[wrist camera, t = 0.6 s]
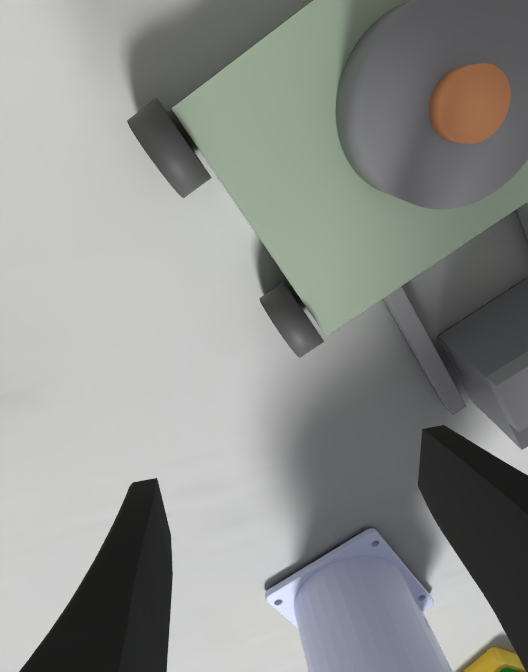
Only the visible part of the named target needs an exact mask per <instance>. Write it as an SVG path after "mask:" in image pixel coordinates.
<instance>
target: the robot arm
mask: <svg viewBox="0 0 528 672" xmlns="http://www.w3.org/2000/svg"><path fill="white" fill-rule="evenodd" d="M418 487H419V489H420V491H421V493H422V495H423V497H424V500H425V502H426V504H427V506H428V508H429V510H430V512H431V514H432V516H433V518H434V519H435V521H436V523H437V524H438V526H439V527H440V529H441V531H442V532H443V534H444V535H445V537H446V538H447V540H448V541H449V543H450V544H451V546H452V547H453V549H454V550H455V552H456V553H457V555H458V556H459V558H460V559H461V561H462V562H463V564H464V565H465V567H466V568H467V570H468V572H469V573H470V575H471V576H472V578H473V579H474V581H475V582H476V584H477V585H478V587H479V588H480V590H481V591H482V593H483V594H484V596H485V597H486V599H487V601H488V602H489V604H490V606H491V607H492V609H493V611H494V612H495V614H496V616H497V618H498V620H499V621H500V623H501V625H502V627H503V629H504V631H505V633H506V634H507V636H508V638H509V640H510V642H511V644H512V646H513V647H514V649H515V651H516V653H517V655H518V657H519V659H520V661H521V663H522V665H523V667H524V669H525V671H526V672H528V475H526V474H524V473H522V472H521V471H519V470H517V469H516V468H514V467H512V466H510V465H509V464H507V463H505V462H504V461H502V460H500V459H499V458H497V457H495V456H494V455H492V454H490V453H489V452H487V451H485V450H484V449H482V448H480V447H479V446H477V445H476V444H474V443H472V442H471V441H469V440H467V439H466V438H464V437H463V436H461V435H459V434H458V433H456V432H454V431H453V430H451V429H449V428H447V427H446V426H444V425H442V426H437V427H431V428H426V429H422V442H421V454H420V467H419V479H418ZM172 576H173V573H172V549H171V534H170V530H169V525H168V521H167V517H166V513H165V509H164V505H163V501H162V496H161V492H160V488H159V484H158V480H157V478H155V479H150V480H144V481H139V482H133V483H132V484H131V486H130V487H129V489H128V492H127V494H126V497H125V499H124V501H123V504H122V506H121V508H120V510H119V513H118V515H117V517H116V519H115V521H114V523H113V525H112V527H111V529H110V531H109V533H108V535H107V537H106V539H105V541H104V543H103V545H102V547H101V549H100V551H99V553H98V555H97V556H96V558H95V560H94V562H93V564H92V565H91V567H90V569H89V570H88V572H87V574H86V575H85V577H84V579H83V581H82V582H81V584H80V586H79V587H78V589H77V591H76V592H75V594H74V596H73V597H72V599H71V600H70V602H69V603H68V605H67V606H66V608H65V609H64V611H63V613H62V614H61V615H60V617H59V618H58V620H57V621H56V623H55V624H54V626H53V627H52V629H51V630H50V631H49V633H48V634H47V636H46V637H45V638H44V640H43V641H42V642H41V644H40V645H39V646H38V648H37V649H36V650H35V652H34V653H33V654H32V656H31V657H30V658H29V660H28V661H27V662H26V664H25V665H24V666H23V667H22V669H21V670H20V671H19V672H167V655H168V640H169V624H170V609H171V593H172ZM265 598H266V601H267V602H268V603H269V604H270V605H271V606H272V607H274V608H275V609H276V610H277V611H278V612H280V613H281V614H282V615H283V616H284V617H285V618H287V619H288V620H289V621H290V622H291V623H293V624H294V625H295V626H296V627H297V628H298V630H299V634H300V638H301V642H302V646H303V650H304V654H305V658H306V662H307V666H308V671H309V672H453V671H452V669H451V667H450V665H449V663H448V661H447V659H446V657H445V655H444V653H443V651H442V649H441V647H440V645H439V643H438V641H437V639H436V637H435V635H434V633H433V631H432V629H431V627H430V625H429V623H428V621H427V619H426V617H425V615H424V613H423V611H425V610H427V609H429V608H430V607H432V606H433V604H434V601H433V599H432V597H431V595H430V594H429V593H428V592H427V591H426V589H425V588H424V587H423V586H422V585H421V583H420V582H419V581H418V580H417V578H416V577H415V576H414V575H413V574H412V572H411V571H410V570H409V569H408V568H407V566H406V565H405V564H404V563H403V562H402V560H401V559H400V558H399V557H398V556H397V554H396V553H395V552H394V551H393V550H392V548H391V547H390V546H389V545H388V543H387V542H386V541H385V540H384V539H383V537H382V536H381V535H380V534H379V533H378V531H377V530H375V529H372V528H371V529H367V530H365V531H363V532H362V533H360V534H359V535H357V536H355V537H354V538H352V539H350V540H349V541H347V542H345V543H344V544H342V545H340V546H339V547H337V548H336V549H334V550H332V551H331V552H329V553H327V554H326V555H324V556H322V557H321V558H319V559H318V560H316V561H314V562H313V563H311V564H309V565H308V566H306V567H304V568H303V569H301V570H299V571H298V572H296V573H295V574H293V575H291V576H290V577H288V578H286V579H285V580H283V581H281V582H280V583H278V584H276V585H275V586H273V587H272V588H270V589H268V590H267V591H266V593H265Z"/></svg>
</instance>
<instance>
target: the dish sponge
mask: <svg viewBox="0 0 528 672" xmlns="http://www.w3.org/2000/svg"><path fill="white" fill-rule="evenodd" d="M463 672H526V671H525V669H524V667H523V665H522V663H521V661H520V659H519V657H518V655H517V654H515V653H512V652H509V651H506V650H504V649H501V648H498V647H493V648H489V649H488V650H487V651H486V652H485V653H484V654H483V655H481V656H480V657H479V658H478V659H477V660H476V661H474V662H473V663H472V664H471V665H470V666H469V667H467V668H466V669H465V670H464V671H463Z"/></svg>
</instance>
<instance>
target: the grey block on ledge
mask: <svg viewBox="0 0 528 672" xmlns="http://www.w3.org/2000/svg"><path fill="white" fill-rule="evenodd" d="M438 337H439V339H440V341H441V343H442V345H443V347H444V349H445V351H446V352H447V354H448V356H449V358H450V360H451V362H452V364H453V366H454V367H455V369H456V371H457V373H458V375H459V377H460V379H461V381H462V383H463V384H464V386H465V388H466V390H467V392H468V394H469V396H470V398H471V400H472V401H473V403H474V404H475V405H476V406H477V407H478V408H479V409H480V410H482V411H483V412H484V413H485V414H486V415H487V416H488V417H489V418H490V419H491V420H492V421H493V422H494V423H495V424H496V425H497V426H498V427H499V428H500V429H501V430H502V431H503V432H504V433H505V434H506V435H507V436H508V437H509V438H510V439H511V440H512V441H513V442H514V443H515V444H516V445H517V446H518V447H519V448H521V449H524V448H526V447H527V446H528V278H526V279H525V280H523V281H522V282H520V283H519V284H517V285H516V286H514V287H513V288H511V289H509V290H508V291H506V292H505V293H503V294H502V295H500V296H499V297H497V298H496V299H494V300H493V301H491V302H489V303H488V304H486V305H485V306H483V307H482V308H480V309H479V310H477V311H476V312H474V313H473V314H471V315H469V316H468V317H466V318H465V319H463V320H462V321H460V322H459V323H457V324H456V325H454V326H452V327H451V328H449V329H448V330H446V331H445V332H443V333H442V334H440V335H439V336H438Z"/></svg>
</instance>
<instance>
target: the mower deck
mask: <svg viewBox="0 0 528 672" xmlns="http://www.w3.org/2000/svg"><path fill="white" fill-rule="evenodd" d="M171 109H172V110H173V112H174V113H175V115H176V116H177V118H178V119H179V121H180V122H181V124H182V125H183V127H184V128H185V130H186V131H187V132H188V134H189V135H190V137H191V138H192V140H193V141H194V143H195V144H196V146H197V147H198V149H199V150H200V152H201V153H202V155H203V156H204V157H205V159H206V160H207V162H208V163H209V165H210V166H211V168H212V169H213V171H214V172H215V174H216V175H217V177H218V178H219V180H220V181H221V182H222V184H223V185H224V187H225V188H226V190H227V191H228V193H229V194H230V196H231V197H232V199H233V200H234V202H235V203H236V204H237V206H238V207H239V209H240V210H241V212H242V213H243V215H244V216H245V218H246V219H247V221H248V222H249V224H250V225H251V227H252V228H253V229H254V231H255V232H256V234H257V235H258V237H259V238H260V240H261V241H262V243H263V244H264V246H265V247H266V249H267V250H268V252H269V253H270V254H271V256H272V257H273V259H274V260H275V262H276V263H277V265H278V266H279V268H280V269H281V271H282V272H283V274H284V275H285V276H286V278H287V279H288V281H289V282H290V284H291V285H292V287H293V288H294V290H295V291H296V293H297V294H298V296H299V297H300V299H301V300H302V301H303V303H304V304H305V306H306V307H307V309H308V310H309V312H310V313H311V315H312V316H313V318H314V319H315V321H316V322H317V324H318V325H319V326H320V328H321V329H322V331H323V332H324V334H325V335H326V336H328V335H329V334H331V333H332V332H334V331H335V330H337V329H338V328H340V327H341V326H343V325H344V324H346V323H347V322H349V321H350V320H352V319H353V318H355V317H356V316H358V315H359V314H361V313H362V312H364V311H365V310H367V309H368V308H370V307H371V306H373V305H374V304H376V303H377V302H379V301H380V300H382V299H383V300H384V302H385V304H386V306H387V307H388V309H389V311H390V313H391V314H392V316H393V318H394V320H395V321H396V323H397V325H398V326H399V328H400V330H401V332H402V333H403V335H404V337H405V339H406V340H407V342H408V344H409V346H410V347H411V349H412V351H413V353H414V354H415V356H416V358H417V359H418V361H419V363H420V365H421V366H422V368H423V370H424V372H425V373H426V375H427V377H428V379H429V380H430V382H431V384H432V386H433V387H434V389H435V391H436V392H437V394H438V396H439V398H440V399H441V401H442V403H443V404H444V405H445V406H446V408H447V409H448V410H449V411H450V412H451V413H452V414H455V413H456V412H458V411H459V410H461V409H463V408H464V407H466V404H465V402H464V401H463V399H462V397H461V395H460V393H459V391H458V390H457V388H456V386H455V384H454V382H453V380H452V379H451V377H450V375H449V373H448V371H447V369H446V367H445V366H444V364H443V362H442V360H441V358H440V356H439V355H438V353H437V351H436V349H435V347H434V345H433V344H432V342H431V340H430V338H429V336H428V334H427V332H426V331H425V329H424V327H423V325H422V323H421V321H420V320H419V318H418V316H417V314H416V312H415V310H414V309H413V307H412V305H411V303H410V301H409V299H408V298H407V296H406V294H405V292H404V290H403V288H402V286H403V285H404V284H405V283H407V282H408V281H410V280H411V279H413V278H414V277H416V276H417V275H419V274H420V273H422V272H423V271H425V270H426V269H428V268H429V267H431V266H432V265H434V264H435V263H437V262H438V261H440V260H441V259H443V258H444V257H446V256H447V255H449V254H450V253H452V252H453V251H455V250H456V249H458V248H459V247H461V246H462V245H464V244H465V243H467V242H468V241H470V240H471V239H473V238H474V237H476V236H477V235H479V234H480V233H482V232H483V231H485V230H486V229H488V228H489V227H491V226H492V225H494V224H495V223H497V222H498V221H500V220H501V219H503V218H504V217H506V216H507V215H509V214H510V213H512V212H513V211H515V210H517V213H518V216H519V219H520V221H521V224H522V227H523V230H524V232H525V235H526V238H527V241H528V0H313V1H311V2H310V3H309V4H307V5H306V6H305V7H303V8H302V9H301V10H299V11H298V12H297V13H296V14H294V15H293V16H292V17H290V18H289V19H288V20H286V21H285V22H284V23H282V24H281V25H280V26H279V27H277V28H276V29H275V30H273V31H272V32H271V33H269V34H268V35H267V36H265V37H264V38H263V39H262V40H260V41H259V42H258V43H256V44H255V45H254V46H252V47H251V48H250V49H248V50H247V51H246V52H244V53H243V54H242V55H241V56H239V57H238V58H237V59H235V60H234V61H233V62H231V63H230V64H229V65H227V66H226V67H225V68H224V69H222V70H221V71H220V72H218V73H217V74H216V75H214V76H213V77H212V78H210V79H209V80H208V81H206V82H205V83H204V84H203V85H201V86H200V87H199V88H197V89H196V90H195V91H193V92H192V93H191V94H189V95H188V96H187V97H186V98H184V99H183V100H182V101H180V102H179V103H178V104H176V105H175V106H174V107H172V108H171ZM127 122H128V124H129V126H130V128H131V130H132V131H133V133H134V135H135V136H136V138H137V139H138V141H139V142H140V144H141V145H142V147H143V148H144V150H145V151H146V153H147V154H148V155H149V157H150V158H151V160H152V161H153V162H154V164H155V165H156V166H157V168H158V169H159V170H160V172H161V173H162V174H163V176H164V177H165V178H166V179H167V181H168V182H169V183H170V184H171V186H172V187H173V188H174V189H175V190H176V192H177V193H178V194H179V195H180V196H181V197H183V198H185V197H186V196H187V195H189V194H190V193H191V192H193V191H194V190H195V189H197V188H198V187H199V186H201V185H202V184H204V183H205V182H206V181H208V180H209V179H210V178H211V176H210V175H209V173H208V172H207V170H206V169H205V167H204V166H203V164H202V163H201V161H200V160H199V158H198V157H197V155H196V154H195V152H194V151H193V149H192V148H191V147H190V145H189V144H188V142H187V141H186V139H185V138H184V136H183V135H182V133H181V132H180V131H179V129H178V128H177V126H176V125H175V123H174V122H173V120H172V119H171V118H170V116H169V115H168V113H167V112H166V110H165V109H164V108H163V106H162V105H161V103H160V102H159V101H158V99H157V98H156V99H155V100H153V101H152V102H151V103H150V104H148V105H147V106H146V107H144V108H143V109H142V110H140V111H139V112H138V113H137V114H135V115H134V116H133V117H131V118H130V119H129V120H127ZM260 302H261V304H262V306H263V307H264V309H265V311H266V312H267V314H268V316H269V317H270V319H271V320H272V322H273V323H274V325H275V326H276V328H277V329H278V331H279V332H280V334H281V335H282V337H283V338H284V339H285V341H286V342H287V344H288V345H289V346H290V348H291V349H292V350H293V351H294V353H295V354H296V355H297V356H298V357H299V358H300V357H302V356H303V355H305V354H306V353H308V352H309V351H311V350H312V349H314V348H315V347H317V346H318V345H320V344H321V343H323V342H324V341H323V339H322V338H321V336H320V335H319V333H318V332H317V330H316V329H315V327H314V326H313V324H312V323H311V321H310V320H309V318H308V317H307V315H306V314H305V312H304V311H303V309H302V308H301V307H300V305H299V304H298V302H297V301H296V299H295V298H294V296H293V295H292V293H291V292H290V291H289V289H288V288H287V286H286V285H285V283H284V282H283V283H281V284H280V285H278V286H277V287H275V288H274V289H272V290H271V291H269V292H268V293H267V294H265V295H264V296H262V297H261V298H260Z"/></svg>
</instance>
